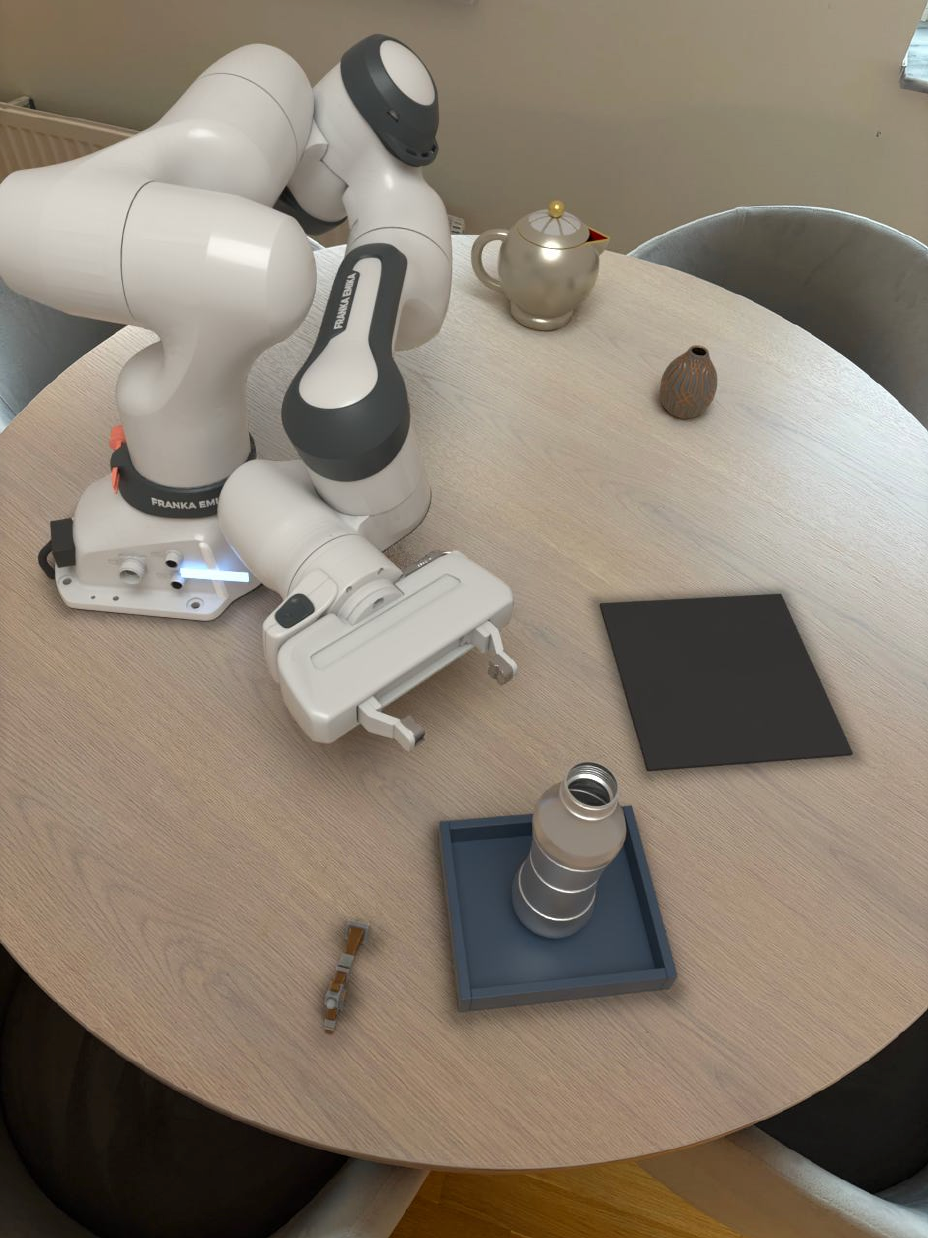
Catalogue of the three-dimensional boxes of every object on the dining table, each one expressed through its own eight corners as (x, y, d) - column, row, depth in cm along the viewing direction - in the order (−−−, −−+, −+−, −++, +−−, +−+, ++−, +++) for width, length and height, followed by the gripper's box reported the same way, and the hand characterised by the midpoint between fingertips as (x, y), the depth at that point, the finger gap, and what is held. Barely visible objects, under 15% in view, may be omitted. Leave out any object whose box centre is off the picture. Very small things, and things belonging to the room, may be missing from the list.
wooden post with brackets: (312, 1040, 69) (318, 996, 67) (342, 959, 76) (347, 917, 74) (336, 1046, 69) (342, 1002, 67) (364, 964, 76) (370, 922, 74)
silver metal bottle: (531, 856, 80) (567, 725, 65) (602, 897, 78) (658, 772, 63) (493, 918, 76) (522, 795, 61) (567, 963, 74) (617, 847, 59)
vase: (707, 430, 119) (726, 372, 112) (652, 420, 120) (669, 361, 113) (709, 397, 124) (728, 339, 117) (656, 388, 124) (672, 329, 117)
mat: (647, 771, 87) (648, 769, 86) (599, 605, 99) (600, 602, 99) (851, 755, 89) (853, 753, 89) (780, 595, 102) (781, 593, 102)
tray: (458, 1012, 72) (461, 1000, 70) (437, 836, 81) (439, 821, 79) (669, 989, 74) (678, 976, 72) (625, 820, 83) (631, 805, 81)
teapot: (596, 297, 137) (618, 185, 125) (589, 350, 129) (612, 236, 116) (474, 278, 138) (483, 165, 126) (459, 330, 129) (467, 214, 117)
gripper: (446, 567, 85) (556, 664, 79) (252, 684, 75) (359, 804, 69) (450, 516, 80) (567, 615, 74) (243, 635, 70) (358, 759, 64)
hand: (465, 708), depth 71 cm, fingers open, 8 cm apart
